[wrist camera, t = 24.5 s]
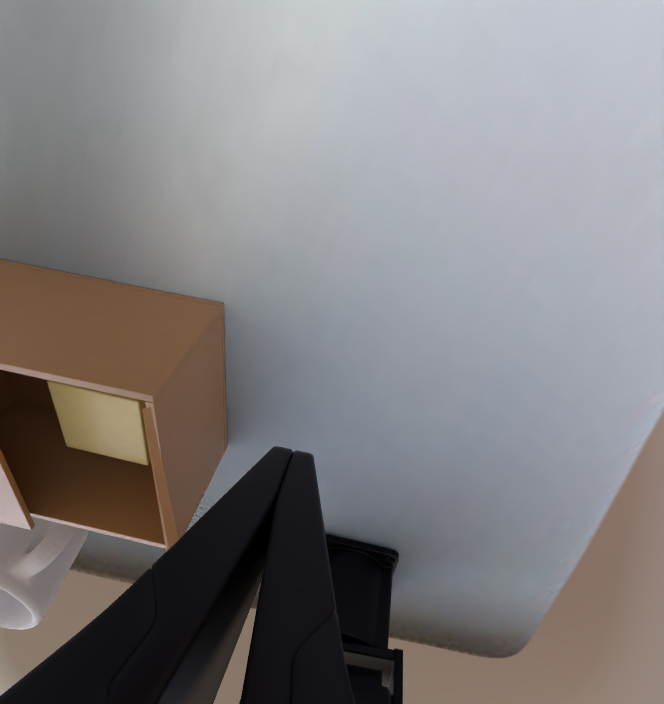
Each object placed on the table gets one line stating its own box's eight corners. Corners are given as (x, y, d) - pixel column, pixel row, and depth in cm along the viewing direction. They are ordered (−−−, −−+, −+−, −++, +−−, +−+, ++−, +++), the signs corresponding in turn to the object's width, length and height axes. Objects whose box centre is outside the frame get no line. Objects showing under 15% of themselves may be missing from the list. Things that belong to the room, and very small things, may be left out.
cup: (61, 443, 32) (-31, 545, 26) (145, 508, 35) (81, 614, 29) (-5, 487, 37) (-96, 581, 31) (73, 540, 40) (5, 637, 33)
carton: (224, 303, 23) (143, 407, 16) (227, 446, 29) (169, 564, 23) (-43, 250, 24) (-219, 329, 17) (16, 400, 30) (-98, 500, 24)
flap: (142, 408, 16) (150, 406, 17) (168, 563, 23) (174, 561, 23) (177, 598, 11) (190, 592, 11) (199, 730, 18) (206, 726, 18)
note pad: (181, 347, 25) (138, 402, 21) (186, 408, 27) (148, 466, 24) (102, 329, 25) (45, 380, 21) (114, 391, 28) (65, 446, 24)
